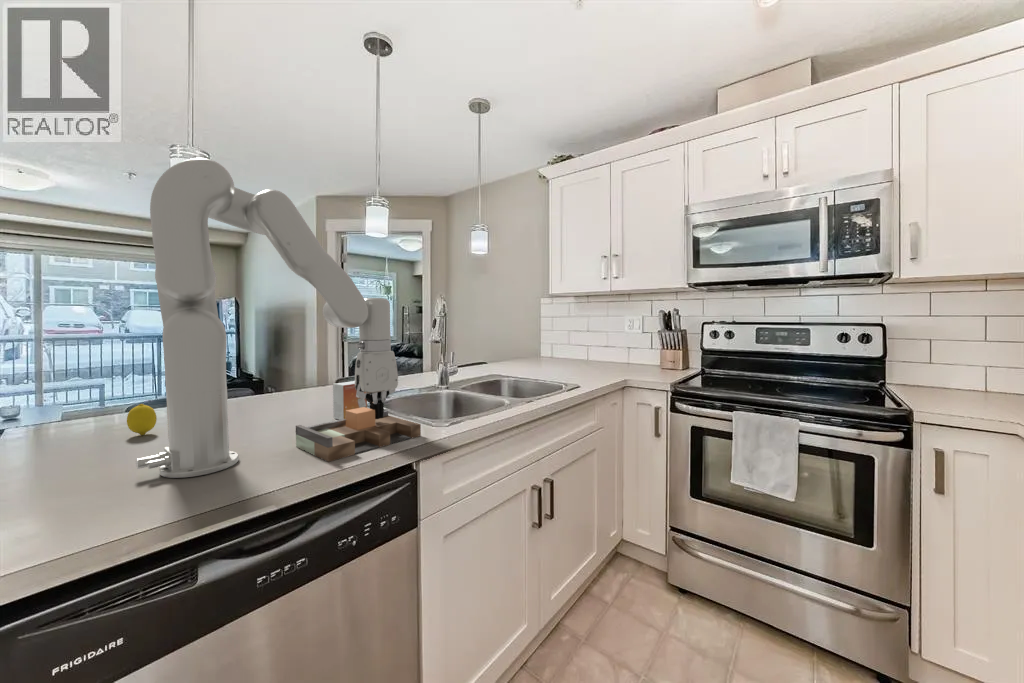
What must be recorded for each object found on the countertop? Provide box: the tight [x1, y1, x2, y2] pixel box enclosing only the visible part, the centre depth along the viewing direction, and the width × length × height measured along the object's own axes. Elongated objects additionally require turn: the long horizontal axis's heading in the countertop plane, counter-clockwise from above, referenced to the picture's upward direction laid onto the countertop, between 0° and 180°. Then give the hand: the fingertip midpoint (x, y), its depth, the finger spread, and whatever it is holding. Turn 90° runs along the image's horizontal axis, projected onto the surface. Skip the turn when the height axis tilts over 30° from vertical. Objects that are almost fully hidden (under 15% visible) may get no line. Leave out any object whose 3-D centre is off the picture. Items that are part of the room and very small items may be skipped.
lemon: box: [126, 403, 158, 436], centre depth 102 cm, size 6×6×8 cm
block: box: [346, 407, 375, 430], centre depth 100 cm, size 5×5×4 cm
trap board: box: [295, 410, 422, 463], centre depth 98 cm, size 24×15×5 cm, turn 141°
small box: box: [332, 380, 368, 421], centre depth 121 cm, size 8×6×10 cm
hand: (377, 417), depth 104 cm, fingers closed
